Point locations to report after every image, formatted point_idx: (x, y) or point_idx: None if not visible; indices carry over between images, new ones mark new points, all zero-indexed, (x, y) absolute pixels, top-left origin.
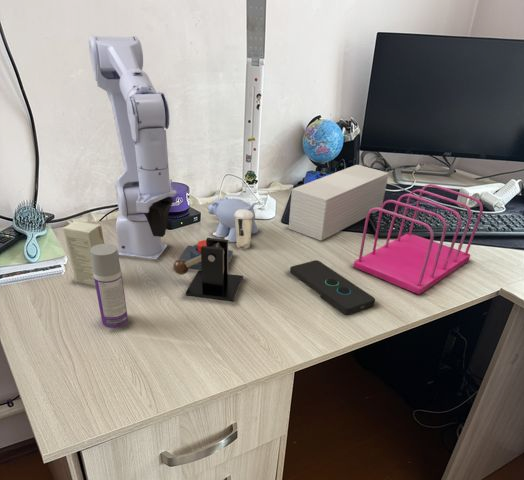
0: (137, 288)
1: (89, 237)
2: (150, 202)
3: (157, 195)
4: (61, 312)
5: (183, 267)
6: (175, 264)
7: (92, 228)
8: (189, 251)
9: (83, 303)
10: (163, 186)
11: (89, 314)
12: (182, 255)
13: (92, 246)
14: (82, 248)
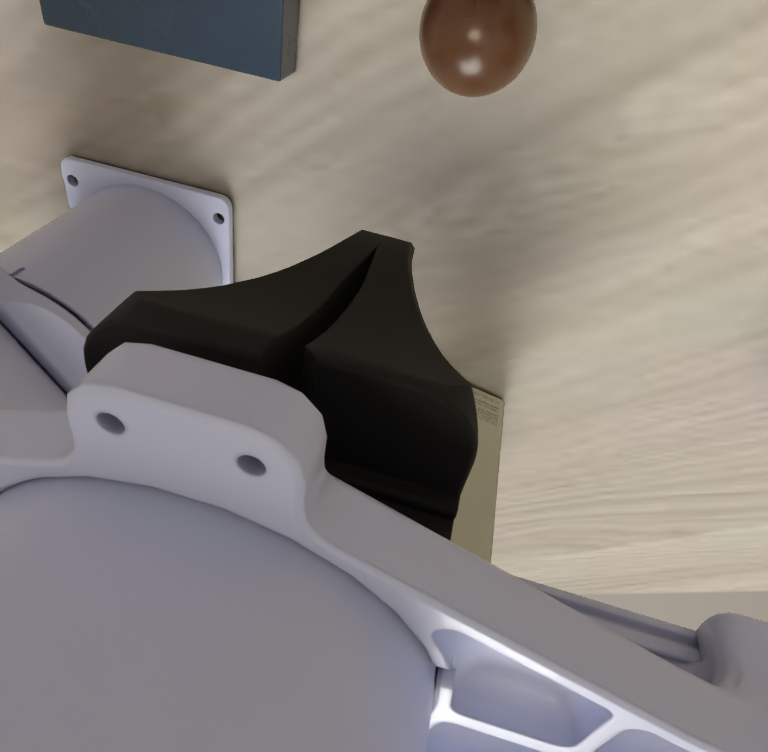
0: (517, 262)
1: None
2: (719, 715)
3: (448, 649)
4: (675, 489)
5: (529, 5)
6: (501, 80)
7: None
8: (118, 2)
9: (622, 438)
10: (302, 738)
11: (719, 417)
12: (185, 49)
13: (486, 552)
14: None
